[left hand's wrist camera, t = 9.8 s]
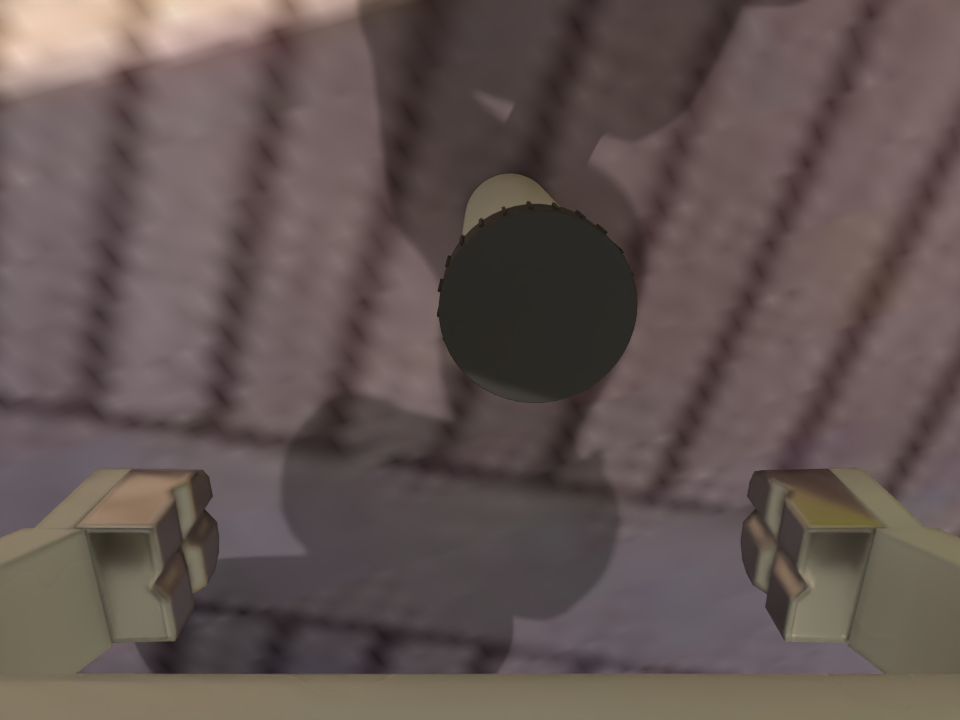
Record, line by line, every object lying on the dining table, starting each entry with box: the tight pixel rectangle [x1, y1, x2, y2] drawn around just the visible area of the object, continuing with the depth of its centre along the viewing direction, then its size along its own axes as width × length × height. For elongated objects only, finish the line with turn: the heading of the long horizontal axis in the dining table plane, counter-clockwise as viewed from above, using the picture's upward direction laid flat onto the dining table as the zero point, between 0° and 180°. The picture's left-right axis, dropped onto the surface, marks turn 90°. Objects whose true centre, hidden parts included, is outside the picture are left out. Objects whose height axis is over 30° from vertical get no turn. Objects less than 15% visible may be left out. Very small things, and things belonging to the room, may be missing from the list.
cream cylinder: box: [462, 174, 560, 236], centre depth 28 cm, size 5×5×19 cm
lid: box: [437, 201, 637, 403], centre depth 20 cm, size 6×6×2 cm
